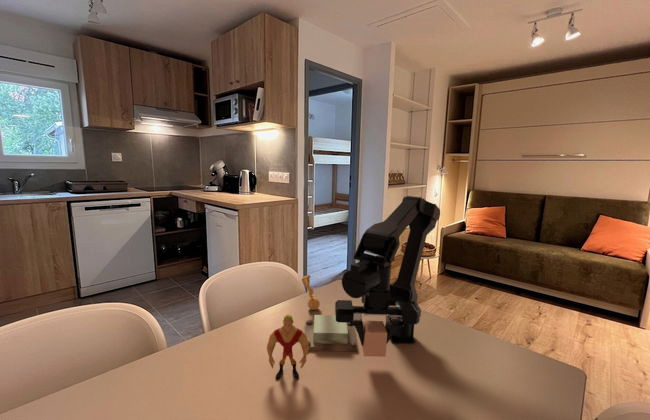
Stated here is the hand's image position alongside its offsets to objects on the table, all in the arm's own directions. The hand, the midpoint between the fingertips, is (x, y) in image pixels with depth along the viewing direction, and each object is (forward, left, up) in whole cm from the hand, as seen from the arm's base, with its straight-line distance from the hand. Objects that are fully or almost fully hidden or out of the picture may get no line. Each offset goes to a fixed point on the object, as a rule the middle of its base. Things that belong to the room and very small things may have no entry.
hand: (373, 344), depth 71 cm
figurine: (+16, -26, -6) cm, 31 cm away
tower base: (+10, -11, -5) cm, 16 cm away
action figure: (+20, +4, -6) cm, 21 cm away
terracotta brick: (0, 0, -1) cm, 1 cm away
